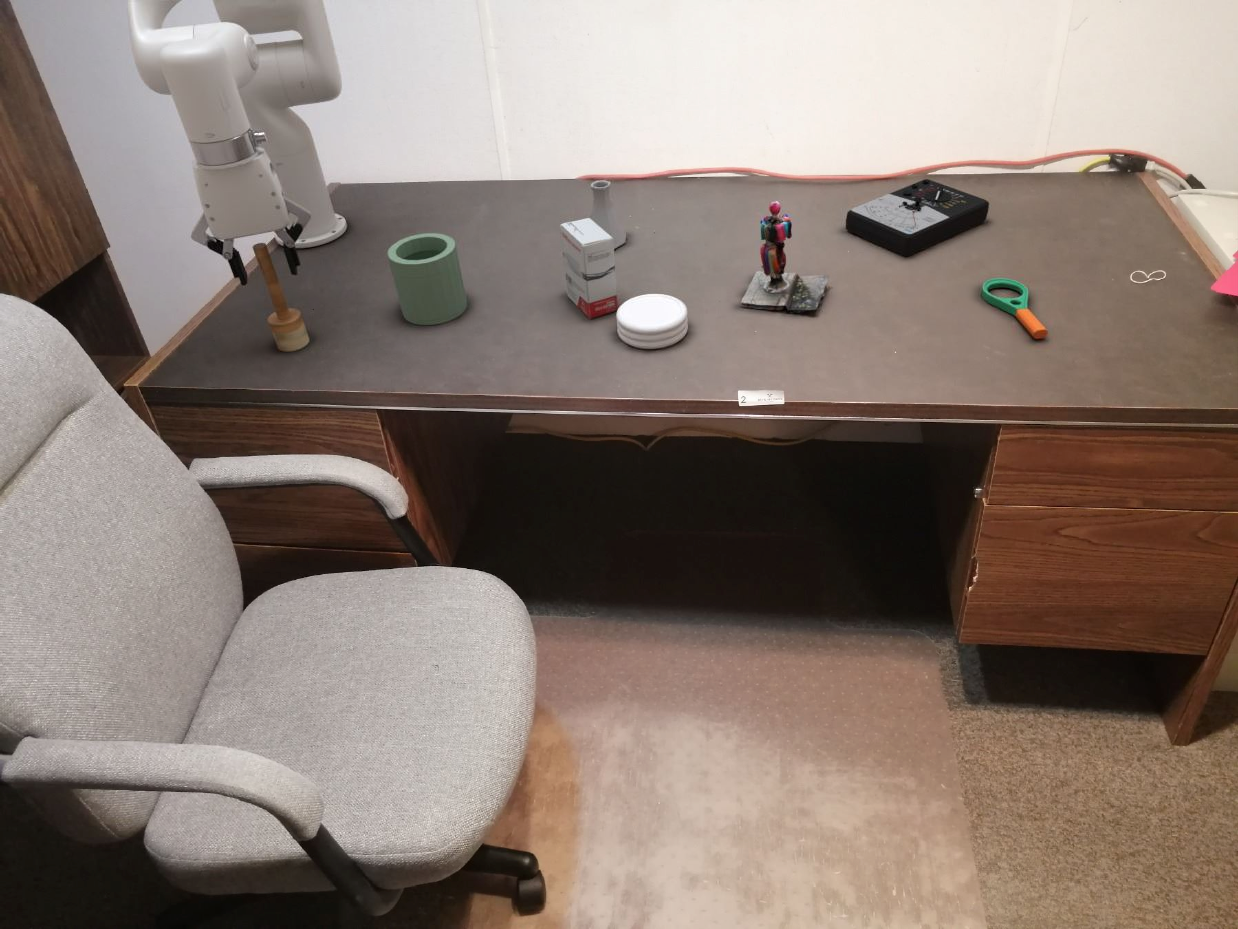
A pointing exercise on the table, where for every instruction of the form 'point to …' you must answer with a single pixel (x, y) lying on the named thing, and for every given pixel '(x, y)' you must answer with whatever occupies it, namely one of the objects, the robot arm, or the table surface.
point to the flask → (606, 212)
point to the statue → (781, 272)
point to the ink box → (589, 267)
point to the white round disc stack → (652, 321)
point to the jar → (428, 278)
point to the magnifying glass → (1014, 304)
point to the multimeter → (916, 216)
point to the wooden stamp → (280, 307)
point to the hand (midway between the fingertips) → (269, 274)
